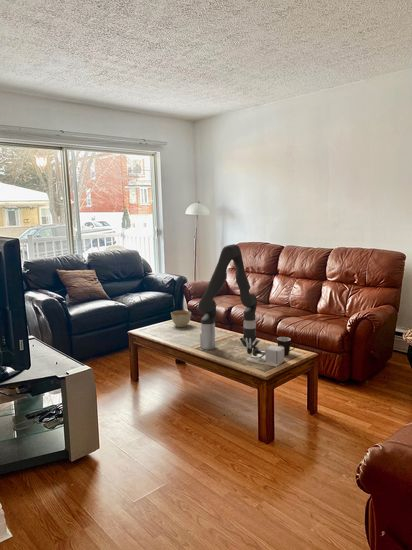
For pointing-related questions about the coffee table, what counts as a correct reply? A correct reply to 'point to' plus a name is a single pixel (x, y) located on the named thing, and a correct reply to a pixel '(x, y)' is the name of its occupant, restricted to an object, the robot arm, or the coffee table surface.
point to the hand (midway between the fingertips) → (249, 353)
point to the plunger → (258, 352)
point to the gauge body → (269, 356)
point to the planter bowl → (181, 318)
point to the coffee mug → (285, 344)
